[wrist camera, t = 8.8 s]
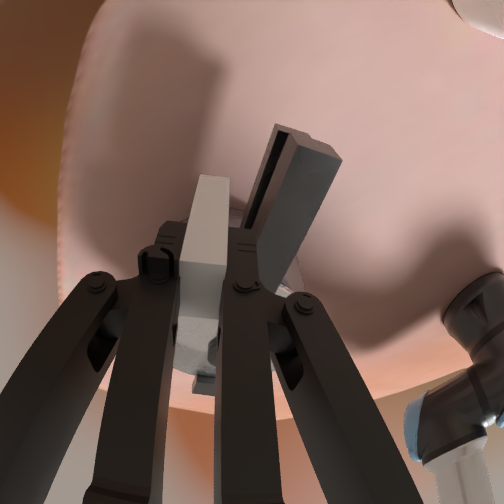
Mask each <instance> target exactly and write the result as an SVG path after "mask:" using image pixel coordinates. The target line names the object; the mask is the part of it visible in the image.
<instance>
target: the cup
mask: <svg viewBox="0 0 504 504" xmlns="http://www.w3.org/2000/svg"><path fill="white" fill-rule="evenodd" d="M452 2H453V5H454V7H455V9H456V11H457V13H458V14H459V16H460V17H461V18H462V19H463V20H464V21H465V22H466V23H467V24H468V25H470V26H471V27H473V28H476V29H479V30H481V31H484V32H487V33H489V34H492V35H494V36H497V37H499V38H501V39H503V40H504V0H452Z"/></svg>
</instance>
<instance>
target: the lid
mask: <svg viewBox="0 0 504 504" xmlns="http://www.w3.org/2000/svg"><path fill="white" fill-rule="evenodd" d="M342 161H343V160H342V159H341V158H340V157H339V155H338V154H337V153H336V152H335V150H334V149H333V148H332V147H331V146H330V145H328V144H325V143H323V142H320V141H317V140H314V139H312V138H309V137H306V136H303V135H300V134H297V133H294V132H291V131H290V132H289V135H288V137H287V140H286V142H285V145H284V148H283V150H282V153H281V155H280V158H279V160H278V163H277V165H276V168H275V170H274V173H273V175H272V178H271V180H270V183H269V185H268V188H267V190H266V193H265V196H264V198H263V201H262V203H261V206H260V208H259V211H258V213H257V216H256V218H255V221H254V224H253V226H252V229H251V231H252V233H253V234H254V236H255V237H256V249H257V260H258V272H259V279H260V281H261V282H262V284H263V286H264V287H265V288H266V289H267V290H269V291H270V292H272V293H274V294H276V295H279V296H282V297H285V298H287V296H289V295H290V294H291V293H294V291H292V290H291V289H289V288H288V287H287V286H285V285H283V284H281V281H282V280H283V278H284V276H285V274H286V272H287V270H288V268H289V266H290V264H291V263H292V261H293V259H294V257H295V255H296V253H297V251H298V249H299V247H300V245H301V243H302V241H303V239H304V237H305V236H306V234H307V232H308V230H309V228H310V226H311V224H312V222H313V220H314V218H315V216H316V214H317V212H318V210H319V208H320V206H321V204H322V202H323V200H324V198H325V196H326V194H327V192H328V190H329V188H330V186H331V184H332V182H333V179H334V177H335V175H336V173H337V171H338V169H339V167H340V165H341V163H342ZM218 322H219V320H216V319H205V318H195V317H186V316H179V315H178V332H177V339H176V346H175V354H174V362H173V368H175V369H177V370H180V371H182V372H185V373H188V374H191V375H195V379H194V381H193V384H192V393H194V394H202V395H209V396H215V377H216V348H217V343H216V336H217V329H218ZM270 359H271V357H270ZM271 370H272V371H275V368H274V365H273V362H272V360H271Z"/></svg>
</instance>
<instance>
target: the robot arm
mask: <svg viewBox="0 0 504 504" xmlns="http://www.w3.org/2000/svg"><path fill="white" fill-rule="evenodd" d="M229 194H230V178H228V177H220V176H211V175H202V174H200V177H199V180H198V184H197V188H196V192H195V196H194V200H193V204H192V208H191V212H190V217H189V221H188V223H183V222H174V221H166V222H165V223H164V224H163V225H162V226H161V227H160V229H159V232H158V234H157V237H156V240H155V243H154V245H151V246H148V247H146V248H144V249H142V250H141V251H140V252H139V254H138V266H139V275H138V276H137V277H134V278H131V279H127V280H119V281H116V280H115V278H114V277H113V276H112V275H111V274H109V273H107V272H103V271H97V272H92V273H90V274H87V275H86V276H85V277H84V278H82V279H81V281H80V282H79V283H78V284H77V285H76V287H75V288H74V289H73V290H72V292H71V293H70V294H69V295H68V297H67V298H66V299H65V301H64V302H63V303H62V304H61V306H60V307H59V308H58V310H57V311H56V312H55V314H54V315H53V316H52V318H51V319H50V321H49V322H48V323H47V324H46V326H45V327H44V329H43V330H42V331H41V333H40V334H39V336H38V337H37V338H36V340H35V341H34V343H33V344H32V346H31V347H30V348H29V350H28V351H27V353H26V354H25V356H24V357H23V359H22V360H21V362H20V363H19V365H18V367H17V368H16V370H15V371H14V373H13V374H12V376H11V377H10V379H9V381H8V383H7V384H6V386H5V387H4V389H3V391H2V392H1V394H0V504H43V503H44V501H45V499H46V497H47V494H48V492H49V490H50V487H51V485H52V483H53V480H54V478H55V476H56V473H57V471H58V469H59V466H60V464H61V462H62V460H63V457H64V456H65V453H66V451H67V449H68V447H69V445H70V443H71V440H72V438H73V436H74V434H75V432H76V430H77V428H78V426H79V424H80V422H81V420H82V418H83V416H84V414H85V412H86V410H87V408H88V406H89V404H90V402H91V400H92V398H93V396H94V394H95V392H96V391H97V389H98V387H99V385H100V383H101V381H102V379H103V377H104V375H105V374H106V372H107V370H108V368H109V366H110V364H111V363H112V361H113V359H114V357H115V355H116V357H115V362H114V366H113V370H112V374H111V378H110V383H109V387H108V392H107V397H106V402H105V406H104V412H103V417H102V423H101V428H100V433H99V440H98V446H97V453H96V459H95V466H94V474H93V480H92V483H91V485H90V486H89V487H88V489H87V490H86V492H85V495H84V497H83V503H82V504H162V491H163V490H162V489H163V471H164V456H165V441H166V429H167V418H168V407H169V397H170V388H171V379H172V370H173V362H174V354H175V346H176V339H177V332H178V315H179V316H186V317H195V318H205V319H216V320H219V322H218V329H217V336H216V343H217V348H216V377H215V417H214V504H285V503H284V501H283V497H282V489H281V476H280V463H279V452H278V441H277V440H278V439H277V428H276V416H275V404H274V393H273V382H272V370H271V360H272V362H273V365H274V368H275V370H276V373H277V376H278V378H279V381H280V384H281V386H282V389H283V391H284V394H285V397H286V399H287V402H288V404H289V407H290V410H291V412H292V415H293V417H294V420H295V422H296V425H297V428H298V430H299V433H300V435H301V438H302V440H303V443H304V445H305V448H306V450H307V453H308V455H309V458H310V461H311V463H312V465H313V468H314V471H315V473H316V475H317V478H318V480H319V483H320V485H321V488H322V490H323V493H324V495H325V498H326V500H327V503H328V504H423V501H422V499H421V497H420V494H419V492H418V490H417V488H416V486H415V484H414V481H413V479H412V477H411V475H410V473H409V471H408V469H407V467H406V464H405V462H404V460H403V458H402V456H401V454H400V452H399V450H398V448H397V446H396V444H395V442H394V440H393V438H392V436H391V434H390V432H389V430H388V428H387V426H386V424H385V422H384V420H383V418H382V416H381V414H380V412H379V410H378V408H377V406H376V404H375V402H374V400H373V398H372V396H371V394H370V392H369V390H368V388H367V386H366V384H365V383H364V381H363V379H362V377H361V375H360V373H359V371H358V369H357V367H356V365H355V364H354V362H353V360H352V358H351V356H350V354H349V352H348V350H347V349H346V347H345V345H344V343H343V341H342V339H341V337H340V336H339V334H338V332H337V330H336V328H335V326H334V325H333V323H332V321H331V319H330V317H329V316H328V314H327V312H326V310H325V308H324V306H323V305H322V303H321V302H320V301H319V299H318V298H316V297H315V296H313V295H312V294H309V293H306V292H294V293H291V294H290V295H289V296H287V298H285V297H282V296H279V295H276V294H274V293H272V292H270V291H269V290H267V289H266V288H265V287H264V286H263V284H262V282H261V281H260V279H259V272H258V260H257V249H256V237H255V236H254V234H253V233H252V231H251V230H250V229H244V228H235V227H228V217H229ZM444 325H445V327H446V329H447V331H448V333H449V335H450V336H452V337H453V338H454V339H455V340H456V341H457V342H458V343H459V344H460V345H461V346H462V347H463V348H464V349H465V350H466V351H467V352H468V354H469V355H470V357H471V360H472V362H473V365H472V366H470V367H469V368H467V369H466V370H464V371H463V372H461V373H459V374H458V375H456V376H454V377H453V378H451V379H449V380H448V381H446V382H444V383H442V384H441V385H439V386H437V387H435V388H433V389H431V390H428V391H426V392H425V393H424V394H423V395H421V396H420V397H418V398H416V399H414V400H413V401H411V402H410V403H409V404H408V406H407V408H406V411H405V413H404V435H405V442H406V446H407V448H408V450H409V455H410V457H411V459H412V460H413V461H415V462H422V464H423V468H424V469H426V470H428V471H430V472H432V473H433V474H434V475H435V481H436V486H437V491H438V496H439V501H440V504H495V503H494V498H493V493H492V488H491V484H490V479H489V475H488V471H487V467H486V463H485V459H484V456H483V448H484V446H485V443H486V441H487V439H488V436H487V433H486V430H485V429H486V428H487V427H489V426H490V425H492V424H494V423H495V422H496V425H497V426H498V427H500V428H501V427H503V426H504V275H503V274H501V273H491V274H488V275H485V276H483V277H481V278H479V279H478V280H476V281H475V282H473V283H472V284H470V285H469V286H468V287H467V288H465V289H464V290H463V291H462V292H461V293H460V294H459V295H458V296H457V297H456V298H455V300H454V301H453V302H452V303H451V305H450V306H449V308H448V309H447V311H446V313H445V316H444ZM270 357H271V359H270Z"/></svg>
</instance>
